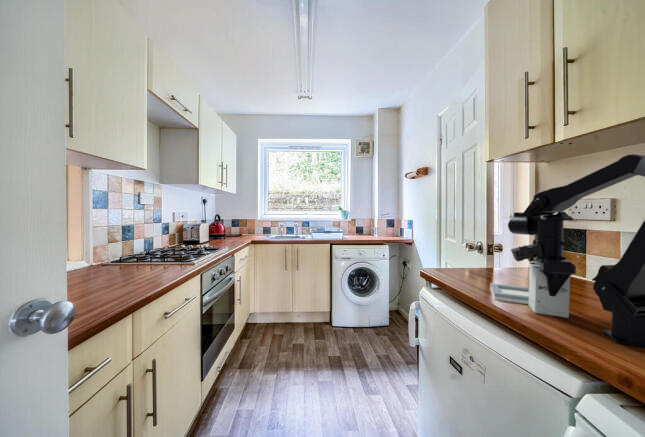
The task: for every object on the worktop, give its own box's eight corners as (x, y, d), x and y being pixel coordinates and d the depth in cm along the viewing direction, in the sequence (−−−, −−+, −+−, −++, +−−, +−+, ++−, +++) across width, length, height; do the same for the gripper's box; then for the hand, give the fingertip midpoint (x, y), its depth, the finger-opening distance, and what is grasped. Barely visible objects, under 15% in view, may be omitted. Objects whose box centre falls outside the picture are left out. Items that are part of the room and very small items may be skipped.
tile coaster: (551, 307, 77) (551, 300, 77) (494, 299, 83) (494, 293, 83) (538, 294, 89) (538, 288, 89) (490, 288, 96) (490, 283, 95)
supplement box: (534, 313, 72) (535, 268, 71) (528, 305, 78) (528, 263, 78) (569, 319, 68) (571, 270, 68) (560, 309, 75) (561, 265, 74)
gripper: (508, 233, 85) (507, 281, 85) (520, 237, 68) (518, 297, 69) (553, 234, 79) (551, 285, 80) (577, 240, 63) (575, 304, 63)
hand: (547, 292), depth 73 cm, fingers closed on supplement box, 7 cm apart
